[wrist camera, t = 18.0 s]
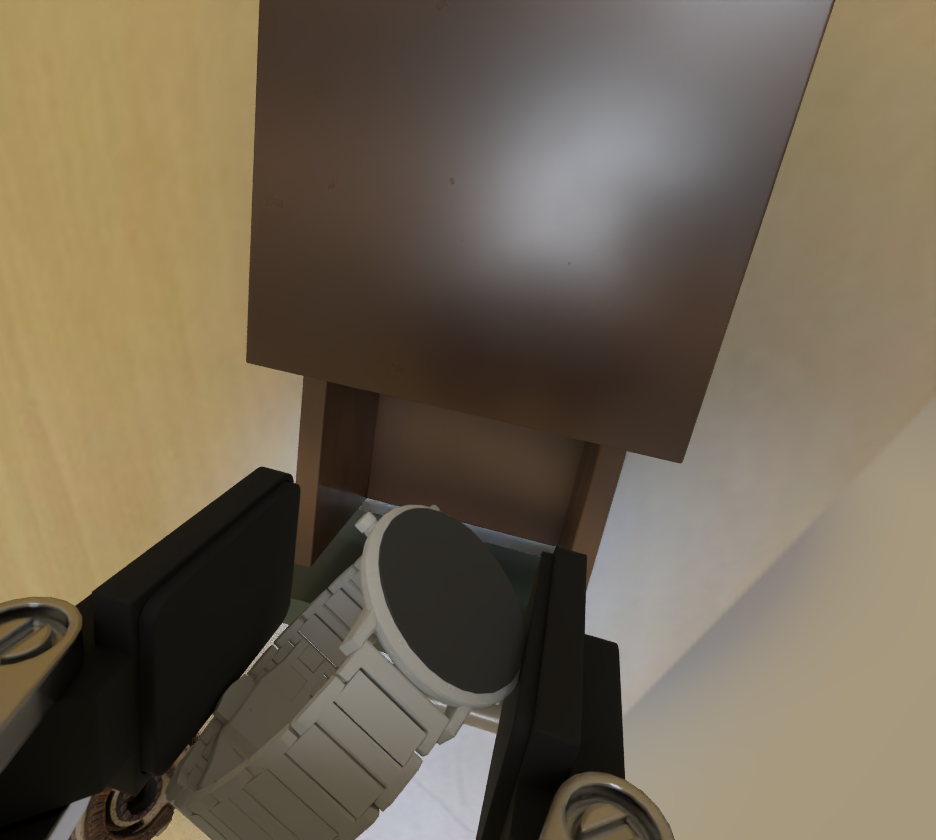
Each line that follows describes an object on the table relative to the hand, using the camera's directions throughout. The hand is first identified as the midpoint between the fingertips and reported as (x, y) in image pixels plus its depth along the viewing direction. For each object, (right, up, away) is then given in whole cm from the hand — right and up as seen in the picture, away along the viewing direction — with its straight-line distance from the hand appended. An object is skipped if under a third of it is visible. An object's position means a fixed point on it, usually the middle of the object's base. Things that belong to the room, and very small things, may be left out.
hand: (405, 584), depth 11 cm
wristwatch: (0, 0, +1) cm, 1 cm away
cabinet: (+4, +13, +11) cm, 18 cm away
